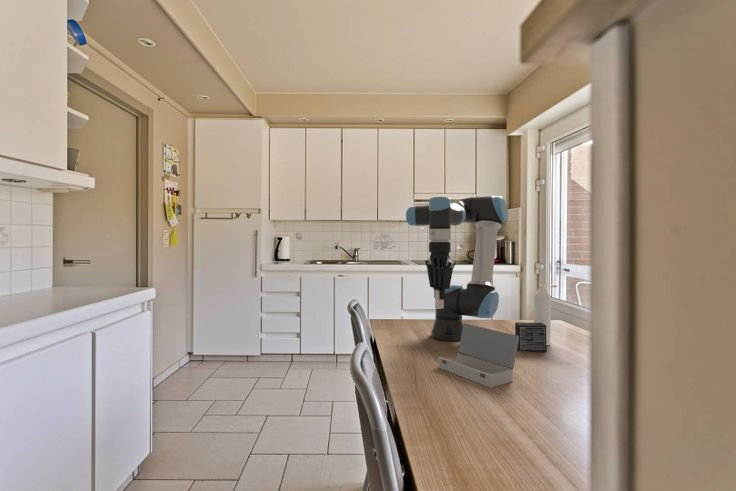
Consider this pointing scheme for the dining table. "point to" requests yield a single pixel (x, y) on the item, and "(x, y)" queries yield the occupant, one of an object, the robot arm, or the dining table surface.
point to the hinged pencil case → (477, 370)
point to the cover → (489, 345)
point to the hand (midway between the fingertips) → (439, 308)
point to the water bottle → (543, 309)
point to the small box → (531, 336)
